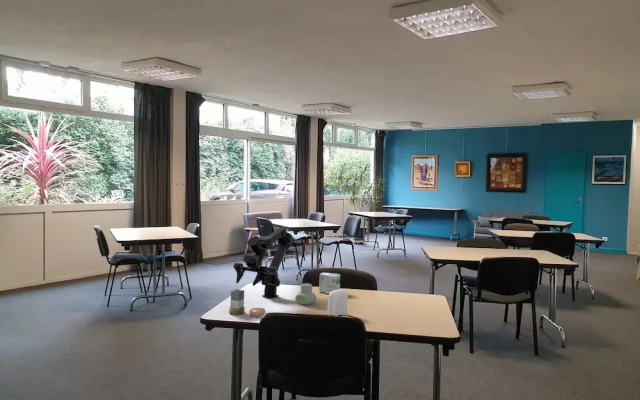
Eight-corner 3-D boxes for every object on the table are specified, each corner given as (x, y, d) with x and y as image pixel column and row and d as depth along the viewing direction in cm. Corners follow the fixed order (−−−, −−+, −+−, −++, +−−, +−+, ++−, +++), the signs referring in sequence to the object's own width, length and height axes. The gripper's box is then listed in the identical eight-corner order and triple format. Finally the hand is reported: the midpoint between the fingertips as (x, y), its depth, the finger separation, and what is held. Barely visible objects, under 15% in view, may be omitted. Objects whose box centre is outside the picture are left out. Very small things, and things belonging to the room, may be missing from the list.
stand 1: (237, 309, 210) (237, 304, 210) (247, 312, 206) (247, 307, 206) (226, 312, 205) (226, 307, 205) (236, 316, 201) (236, 310, 200)
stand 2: (257, 311, 208) (257, 306, 208) (268, 315, 204) (268, 309, 204) (246, 315, 202) (246, 310, 202) (257, 318, 198) (257, 313, 198)
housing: (235, 305, 208) (236, 289, 208) (243, 307, 207) (244, 290, 206) (230, 308, 204) (230, 291, 204) (238, 309, 202) (239, 292, 202)
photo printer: (343, 312, 213) (344, 287, 212) (348, 315, 209) (349, 289, 208) (325, 315, 207) (326, 289, 206) (330, 318, 203) (331, 292, 203)
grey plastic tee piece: (292, 303, 225) (293, 284, 225) (302, 300, 232) (303, 281, 232) (309, 307, 219) (309, 287, 218) (318, 304, 225) (319, 285, 225)
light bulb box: (339, 292, 251) (340, 274, 250) (336, 295, 245) (336, 276, 244) (322, 290, 255) (323, 271, 254) (318, 292, 248) (319, 274, 248)
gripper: (235, 246, 218) (222, 272, 209) (268, 250, 211) (256, 277, 202) (243, 259, 226) (230, 285, 216) (275, 263, 219) (263, 290, 209)
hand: (244, 284), depth 211 cm, fingers open, 9 cm apart
